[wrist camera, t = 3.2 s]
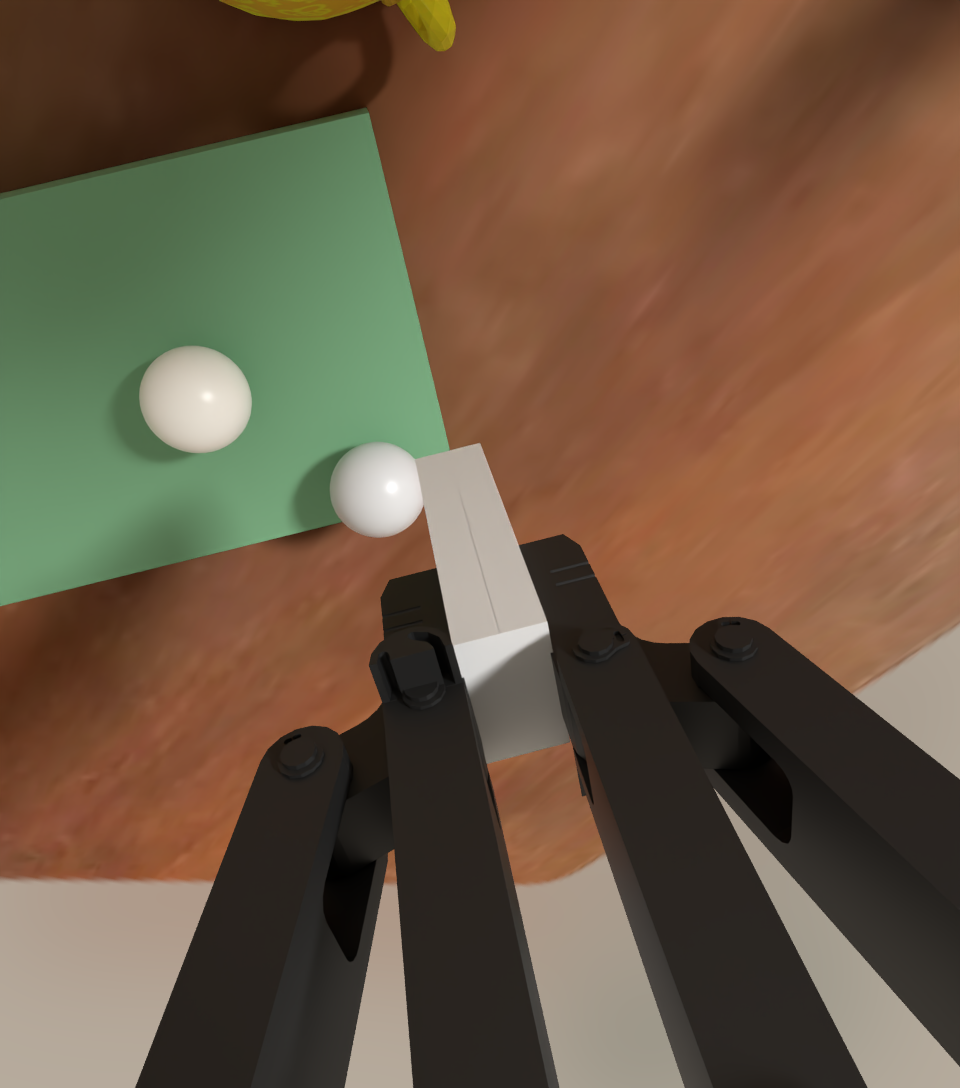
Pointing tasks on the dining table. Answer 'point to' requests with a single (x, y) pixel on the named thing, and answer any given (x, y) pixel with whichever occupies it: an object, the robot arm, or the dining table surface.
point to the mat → (199, 320)
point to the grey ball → (376, 489)
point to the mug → (418, 3)
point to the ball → (195, 399)
